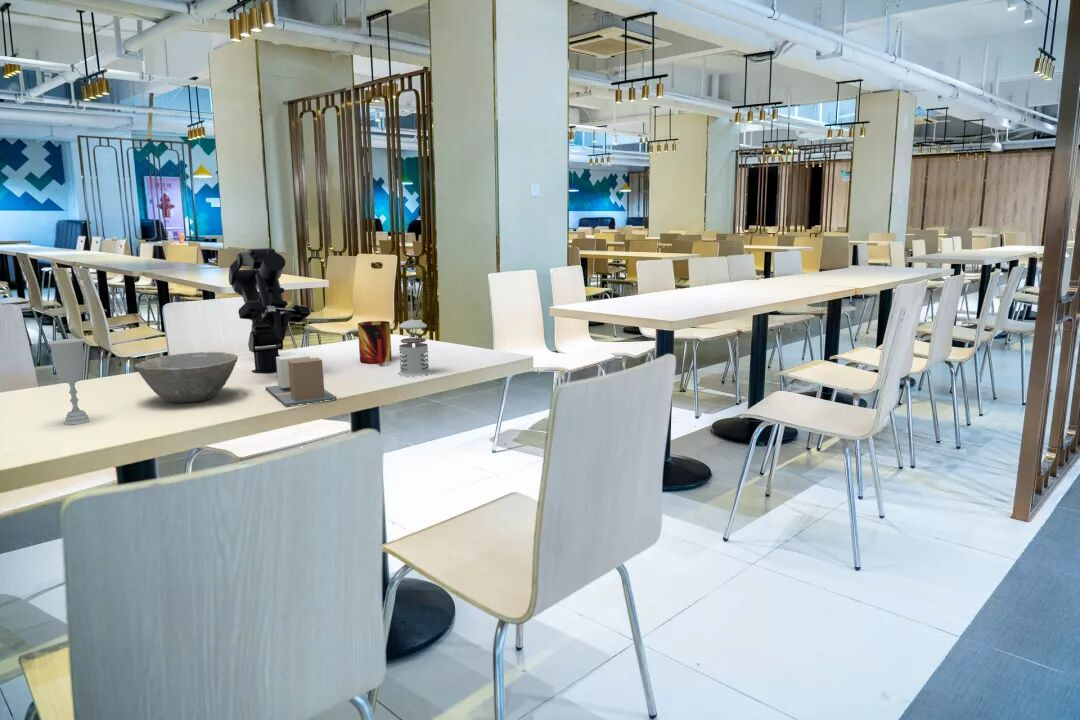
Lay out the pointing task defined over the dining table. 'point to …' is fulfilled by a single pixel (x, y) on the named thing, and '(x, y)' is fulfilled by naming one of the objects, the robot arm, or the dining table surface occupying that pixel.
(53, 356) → the chalice
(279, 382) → the sleeve
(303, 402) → the rod stand
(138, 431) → the dining table surface
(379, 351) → the mug
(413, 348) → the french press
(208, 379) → the ceramic bowl
